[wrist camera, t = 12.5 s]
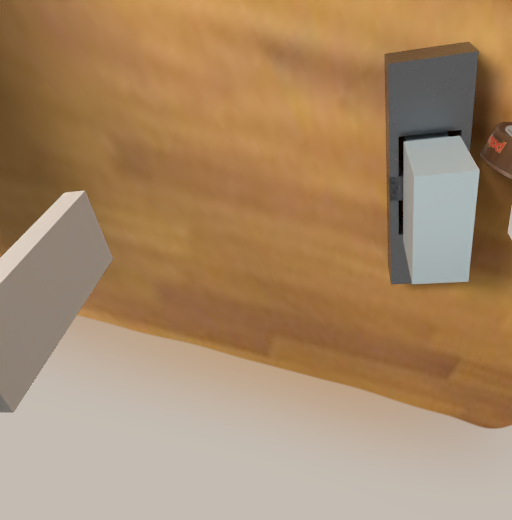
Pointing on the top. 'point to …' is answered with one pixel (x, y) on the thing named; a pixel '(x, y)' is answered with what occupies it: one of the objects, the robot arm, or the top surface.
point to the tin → (499, 149)
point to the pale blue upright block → (438, 207)
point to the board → (423, 119)
